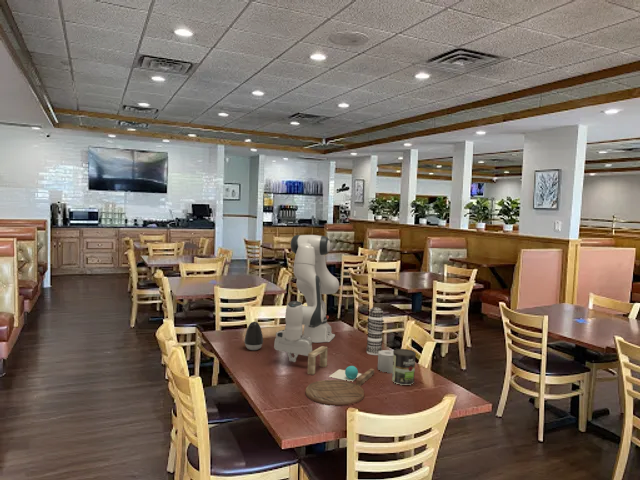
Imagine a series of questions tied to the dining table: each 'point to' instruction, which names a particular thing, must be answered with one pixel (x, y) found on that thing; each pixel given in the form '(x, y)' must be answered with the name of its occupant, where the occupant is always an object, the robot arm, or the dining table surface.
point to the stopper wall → (364, 377)
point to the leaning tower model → (375, 331)
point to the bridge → (312, 358)
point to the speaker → (253, 336)
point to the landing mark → (342, 375)
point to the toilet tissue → (385, 361)
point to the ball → (351, 372)
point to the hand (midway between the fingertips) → (292, 361)
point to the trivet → (334, 392)
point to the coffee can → (403, 366)
